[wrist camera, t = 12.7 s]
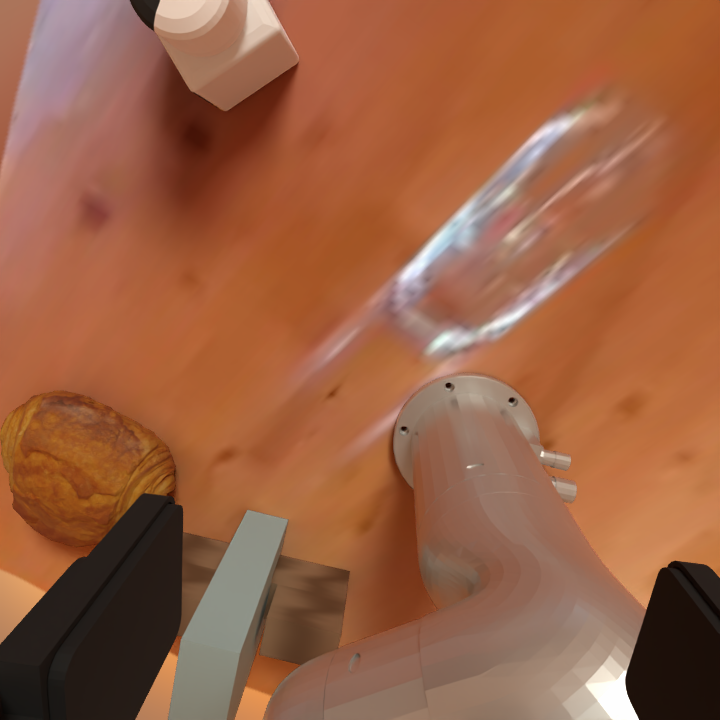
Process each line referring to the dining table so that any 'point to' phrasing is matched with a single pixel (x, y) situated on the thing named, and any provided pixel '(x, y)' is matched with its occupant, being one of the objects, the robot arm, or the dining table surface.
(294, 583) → the mottled brown block
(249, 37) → the medicine bottle
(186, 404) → the dining table surface
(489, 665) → the robot arm
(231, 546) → the plain rectangular block
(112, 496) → the croissant
